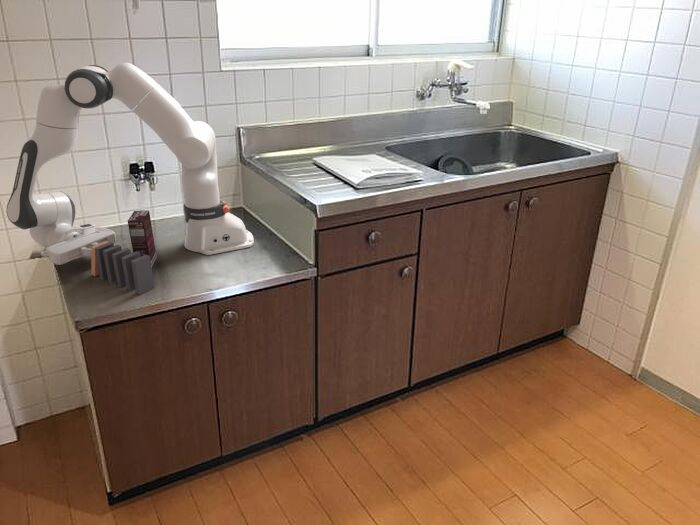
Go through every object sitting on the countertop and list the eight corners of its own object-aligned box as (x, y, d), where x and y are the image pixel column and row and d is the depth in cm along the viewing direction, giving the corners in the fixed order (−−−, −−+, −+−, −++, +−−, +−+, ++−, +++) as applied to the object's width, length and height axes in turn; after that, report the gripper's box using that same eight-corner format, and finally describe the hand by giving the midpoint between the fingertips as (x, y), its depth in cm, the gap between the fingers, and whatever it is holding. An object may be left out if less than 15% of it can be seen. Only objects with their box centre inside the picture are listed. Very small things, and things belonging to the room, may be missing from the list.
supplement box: (141, 257, 186) (133, 210, 180) (157, 257, 187) (150, 209, 180) (134, 269, 179) (126, 220, 172) (151, 269, 179) (143, 220, 172)
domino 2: (100, 278, 173) (94, 247, 169) (114, 272, 177) (109, 241, 172) (103, 280, 172) (98, 249, 168) (118, 273, 176) (113, 243, 172)
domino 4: (117, 285, 169) (111, 254, 165) (132, 279, 173) (126, 247, 169) (121, 287, 168) (115, 255, 164) (135, 280, 172) (130, 249, 168)
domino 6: (136, 293, 165) (130, 260, 161) (150, 286, 169) (145, 254, 165) (140, 294, 165) (134, 262, 160) (154, 287, 168) (149, 255, 164)
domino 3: (108, 282, 171) (102, 250, 167) (123, 275, 175) (117, 244, 171) (112, 283, 170) (106, 252, 166) (126, 277, 174) (121, 246, 170)
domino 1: (91, 273, 175) (91, 246, 169) (105, 267, 179) (106, 240, 173) (94, 276, 174) (95, 249, 169) (109, 270, 178) (110, 243, 173)
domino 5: (126, 289, 167) (121, 257, 163) (141, 282, 171) (136, 251, 167) (130, 291, 167) (125, 258, 162) (145, 284, 170) (139, 252, 166)
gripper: (35, 243, 171) (63, 254, 164) (96, 221, 186) (125, 230, 180) (40, 263, 174) (68, 275, 167) (100, 240, 189) (128, 249, 182)
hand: (98, 252), depth 173 cm, fingers closed
